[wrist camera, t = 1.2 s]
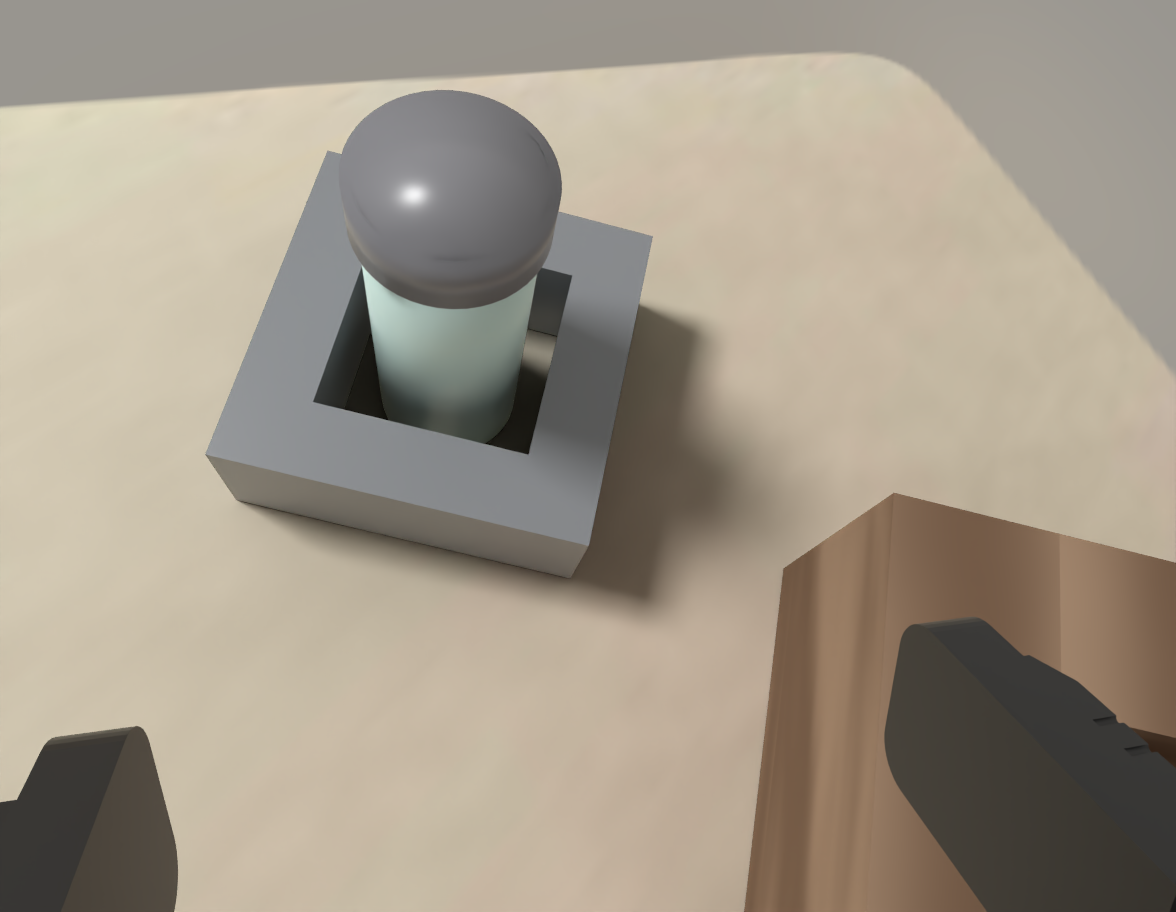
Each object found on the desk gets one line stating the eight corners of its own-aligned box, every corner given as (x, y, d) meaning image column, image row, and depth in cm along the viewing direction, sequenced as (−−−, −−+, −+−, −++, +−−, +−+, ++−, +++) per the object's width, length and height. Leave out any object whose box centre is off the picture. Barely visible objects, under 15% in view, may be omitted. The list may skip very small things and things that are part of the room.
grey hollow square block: (236, 500, 25) (205, 454, 21) (340, 224, 28) (327, 150, 25) (570, 578, 25) (588, 546, 22) (629, 299, 29) (652, 236, 26)
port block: (719, 1129, 21) (842, 1274, 14) (783, 568, 26) (894, 492, 20) (1261, 1234, 22) (1602, 1415, 15) (1215, 672, 27) (1454, 632, 21)
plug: (356, 438, 26) (308, 237, 17) (397, 313, 27) (375, 67, 18) (502, 474, 26) (535, 296, 17) (535, 347, 28) (581, 122, 19)
